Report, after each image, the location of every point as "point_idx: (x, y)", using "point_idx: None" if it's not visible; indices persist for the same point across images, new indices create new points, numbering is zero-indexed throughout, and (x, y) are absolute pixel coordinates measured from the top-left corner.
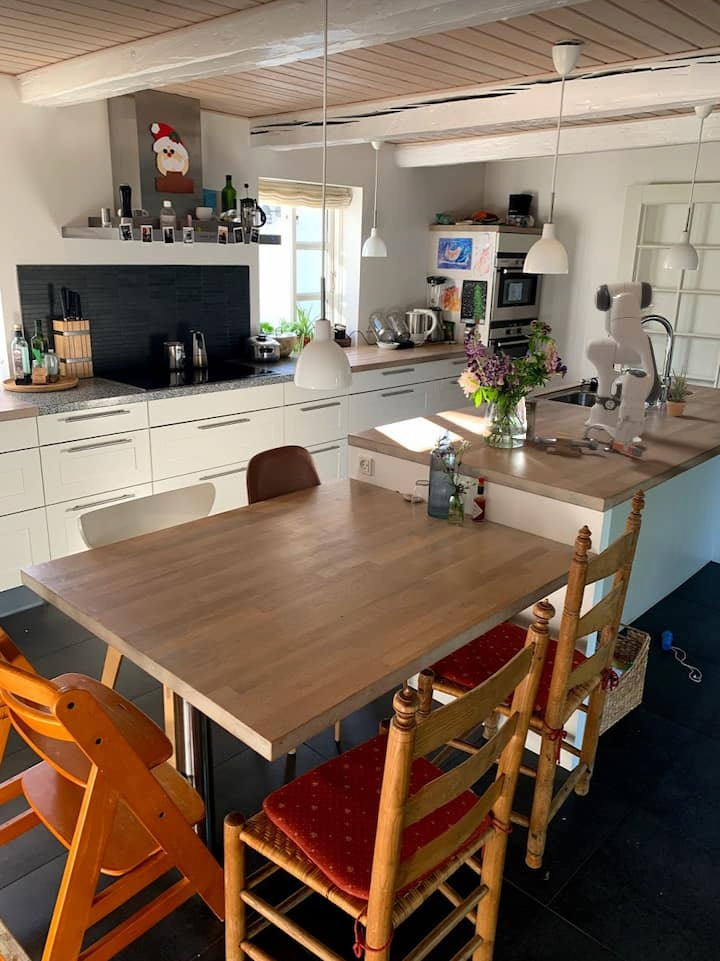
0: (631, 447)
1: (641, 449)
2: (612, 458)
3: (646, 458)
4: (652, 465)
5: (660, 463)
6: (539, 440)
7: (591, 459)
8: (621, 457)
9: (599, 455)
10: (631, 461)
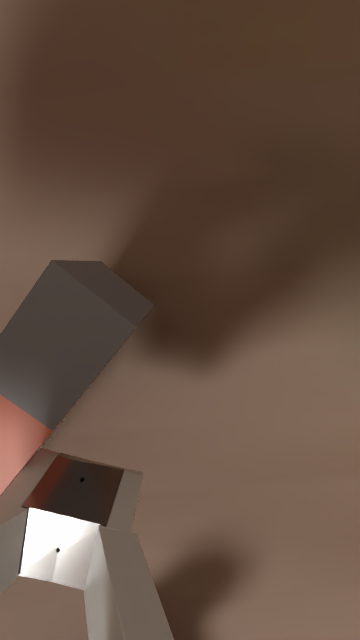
0: (22, 456)
1: (58, 288)
2: (208, 510)
3: (10, 216)
4: (303, 109)
5: (150, 13)
6: None
7: (327, 636)
8: (126, 448)
9: (163, 600)
10: (233, 351)
